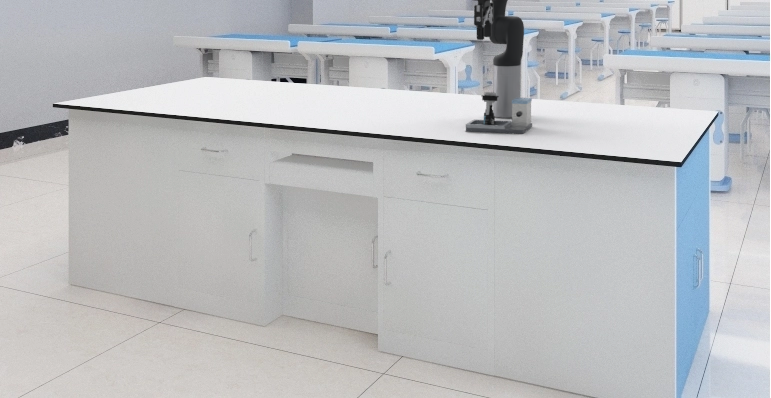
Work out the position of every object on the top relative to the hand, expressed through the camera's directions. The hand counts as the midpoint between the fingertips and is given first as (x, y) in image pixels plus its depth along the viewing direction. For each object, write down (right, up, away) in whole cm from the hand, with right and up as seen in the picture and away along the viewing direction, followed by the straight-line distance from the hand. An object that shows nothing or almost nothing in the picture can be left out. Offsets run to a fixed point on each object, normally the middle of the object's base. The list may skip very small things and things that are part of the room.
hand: (484, 38), depth 285 cm
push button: (+2, -26, +5) cm, 27 cm away
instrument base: (+5, -27, +7) cm, 29 cm away
